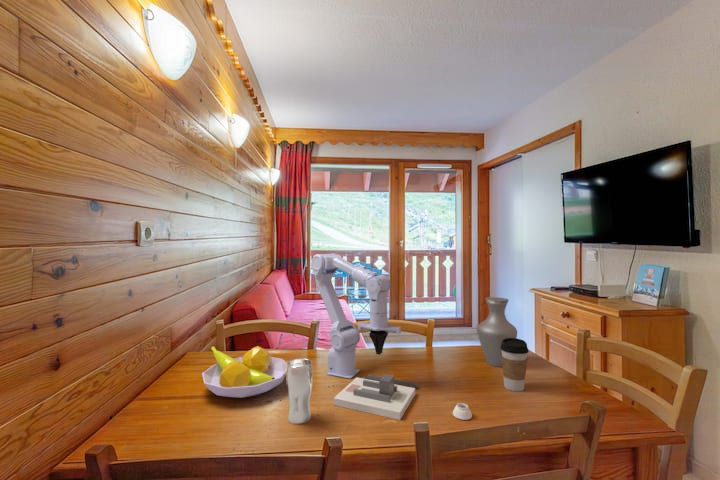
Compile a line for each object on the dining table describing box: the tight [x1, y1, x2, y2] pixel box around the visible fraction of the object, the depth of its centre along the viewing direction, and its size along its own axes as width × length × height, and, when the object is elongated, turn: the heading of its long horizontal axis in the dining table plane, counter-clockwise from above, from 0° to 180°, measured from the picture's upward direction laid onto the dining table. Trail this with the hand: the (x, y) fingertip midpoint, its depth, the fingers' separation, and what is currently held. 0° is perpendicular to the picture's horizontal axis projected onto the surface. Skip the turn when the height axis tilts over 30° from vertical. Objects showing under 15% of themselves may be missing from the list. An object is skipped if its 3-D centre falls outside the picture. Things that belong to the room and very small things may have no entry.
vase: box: [476, 296, 518, 368], centre depth 132 cm, size 14×14×25 cm
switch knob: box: [379, 373, 395, 397], centre depth 101 cm, size 3×5×5 cm, turn 156°
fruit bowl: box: [201, 345, 288, 399], centre depth 111 cm, size 28×27×11 cm
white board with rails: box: [333, 374, 419, 421], centre depth 105 cm, size 20×21×4 cm
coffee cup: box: [500, 338, 530, 392], centre depth 111 cm, size 8×8×15 cm
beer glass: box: [285, 357, 314, 425], centre depth 92 cm, size 7×7×15 cm
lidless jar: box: [452, 402, 473, 421], centre depth 94 cm, size 5×3×5 cm
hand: (379, 353), depth 113 cm, fingers closed
